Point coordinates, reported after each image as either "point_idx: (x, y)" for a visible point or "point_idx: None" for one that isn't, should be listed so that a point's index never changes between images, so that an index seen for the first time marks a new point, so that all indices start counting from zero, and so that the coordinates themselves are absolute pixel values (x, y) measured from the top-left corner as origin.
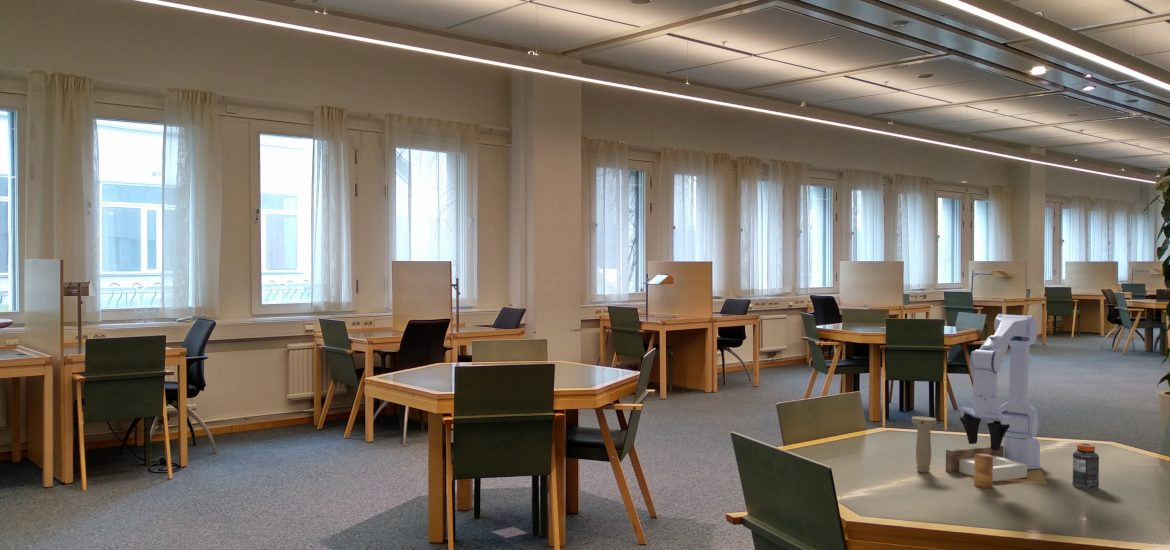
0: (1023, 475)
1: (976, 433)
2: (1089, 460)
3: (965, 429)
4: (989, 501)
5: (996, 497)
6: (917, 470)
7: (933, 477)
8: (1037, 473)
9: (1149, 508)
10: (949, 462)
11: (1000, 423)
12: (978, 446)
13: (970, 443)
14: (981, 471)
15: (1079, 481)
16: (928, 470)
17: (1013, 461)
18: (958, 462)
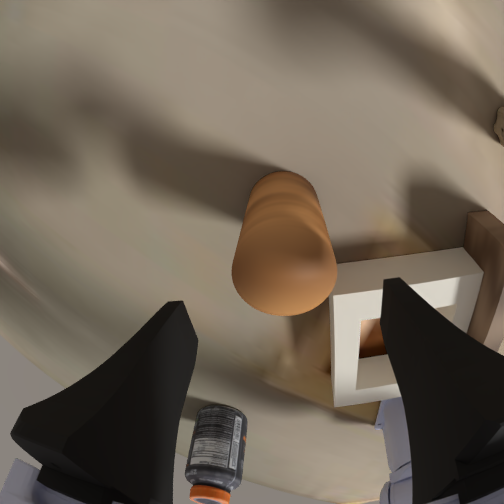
0: (331, 375)
1: (400, 378)
2: (186, 466)
3: (462, 336)
4: (88, 103)
5: (129, 155)
6: None
7: (440, 95)
8: (350, 407)
9: None
10: (492, 228)
11: (38, 472)
12: None
13: (384, 280)
14: (254, 204)
15: (208, 417)
16: (496, 130)
17: (377, 397)
18: (479, 262)
